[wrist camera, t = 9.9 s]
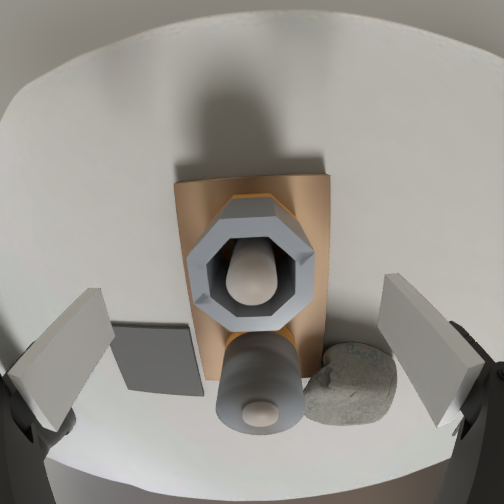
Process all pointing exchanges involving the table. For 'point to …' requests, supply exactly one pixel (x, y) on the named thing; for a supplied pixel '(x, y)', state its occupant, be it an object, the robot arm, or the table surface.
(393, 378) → the stone
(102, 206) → the table surface
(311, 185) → the pin board
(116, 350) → the pad
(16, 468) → the robot arm
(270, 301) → the sleeve
